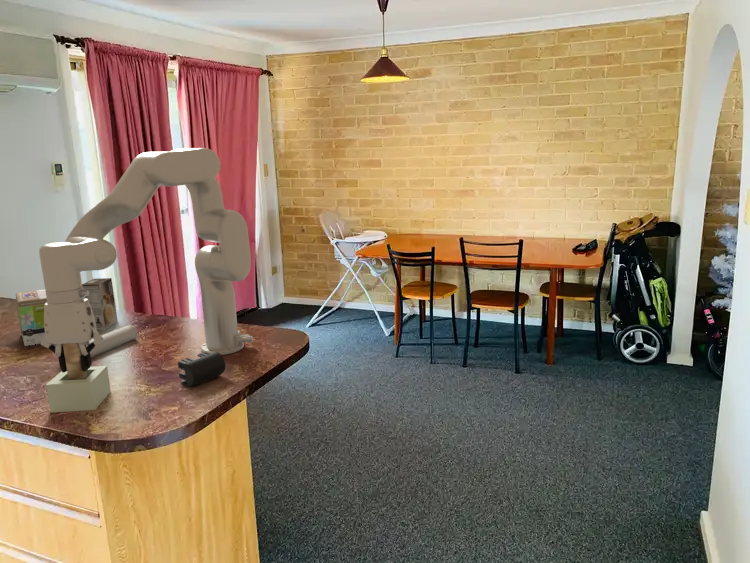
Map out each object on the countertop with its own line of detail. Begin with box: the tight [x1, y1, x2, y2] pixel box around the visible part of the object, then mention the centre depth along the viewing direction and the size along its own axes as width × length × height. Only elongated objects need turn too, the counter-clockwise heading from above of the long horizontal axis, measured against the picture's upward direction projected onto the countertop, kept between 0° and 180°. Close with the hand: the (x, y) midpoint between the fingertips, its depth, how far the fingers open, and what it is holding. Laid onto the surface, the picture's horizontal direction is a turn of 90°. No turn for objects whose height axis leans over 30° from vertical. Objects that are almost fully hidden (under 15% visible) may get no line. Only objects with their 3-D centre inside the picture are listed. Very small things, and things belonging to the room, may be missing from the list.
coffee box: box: [82, 277, 119, 331], centre depth 192 cm, size 9×6×16 cm
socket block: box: [45, 365, 112, 413], centre depth 135 cm, size 10×10×7 cm
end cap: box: [177, 352, 226, 388], centre depth 146 cm, size 10×7×7 cm
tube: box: [89, 324, 138, 358], centre depth 168 cm, size 5×5×25 cm
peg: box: [63, 343, 87, 380], centre depth 133 cm, size 4×4×12 cm
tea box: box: [15, 288, 47, 347], centre depth 182 cm, size 15×10×15 cm
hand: (76, 369), depth 134 cm, fingers closed on peg, 4 cm apart
